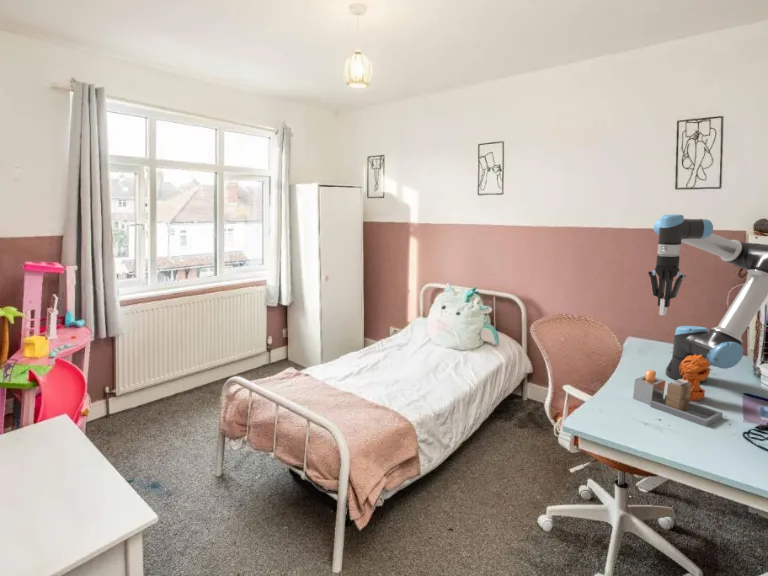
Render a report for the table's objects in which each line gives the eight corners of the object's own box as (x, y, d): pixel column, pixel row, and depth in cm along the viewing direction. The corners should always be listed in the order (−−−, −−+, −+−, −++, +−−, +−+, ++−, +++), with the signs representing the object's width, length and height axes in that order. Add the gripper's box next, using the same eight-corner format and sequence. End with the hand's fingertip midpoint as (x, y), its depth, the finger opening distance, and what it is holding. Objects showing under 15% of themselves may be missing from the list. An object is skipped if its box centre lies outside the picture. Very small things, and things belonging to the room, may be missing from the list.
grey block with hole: (645, 393, 188) (647, 374, 186) (663, 399, 182) (665, 380, 180) (632, 398, 183) (635, 379, 181) (651, 405, 177) (653, 385, 176)
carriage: (675, 403, 178) (678, 377, 176) (688, 408, 174) (691, 381, 172) (664, 408, 173) (668, 382, 171) (677, 413, 170) (681, 386, 168)
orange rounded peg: (647, 383, 183) (649, 369, 182) (655, 386, 181) (657, 372, 180) (643, 385, 182) (644, 371, 181) (651, 388, 179) (653, 373, 178)
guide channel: (666, 399, 182) (667, 394, 182) (721, 417, 167) (722, 412, 166) (650, 406, 176) (650, 401, 175) (706, 426, 160) (706, 421, 160)
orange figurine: (713, 404, 178) (719, 360, 174) (681, 402, 180) (687, 357, 176) (699, 393, 188) (705, 350, 185) (670, 391, 190) (675, 348, 187)
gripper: (646, 254, 182) (641, 313, 186) (682, 257, 171) (676, 319, 176) (655, 252, 186) (650, 310, 190) (691, 255, 175) (685, 316, 180)
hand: (662, 314), depth 183 cm, fingers closed
